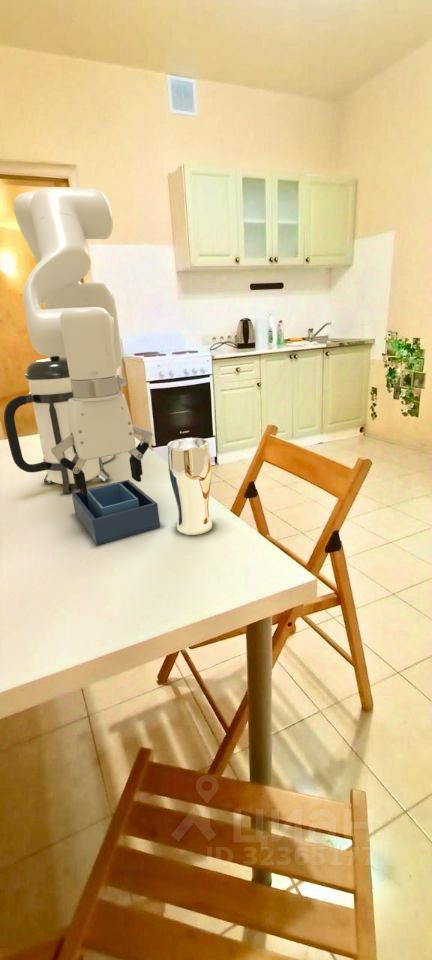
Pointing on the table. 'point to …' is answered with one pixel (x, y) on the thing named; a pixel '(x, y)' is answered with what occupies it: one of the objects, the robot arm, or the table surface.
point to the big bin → (118, 516)
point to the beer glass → (191, 483)
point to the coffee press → (49, 422)
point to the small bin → (110, 500)
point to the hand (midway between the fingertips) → (110, 485)
